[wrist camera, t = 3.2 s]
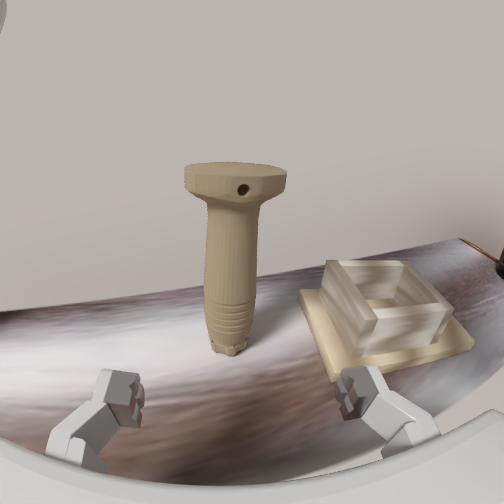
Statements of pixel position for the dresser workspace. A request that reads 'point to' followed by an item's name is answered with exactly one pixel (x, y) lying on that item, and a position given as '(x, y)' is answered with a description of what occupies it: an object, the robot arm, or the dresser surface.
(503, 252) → the supplement bottle
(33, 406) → the dresser surface
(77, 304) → the dresser surface
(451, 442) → the robot arm
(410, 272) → the tool holder
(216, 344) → the handle
